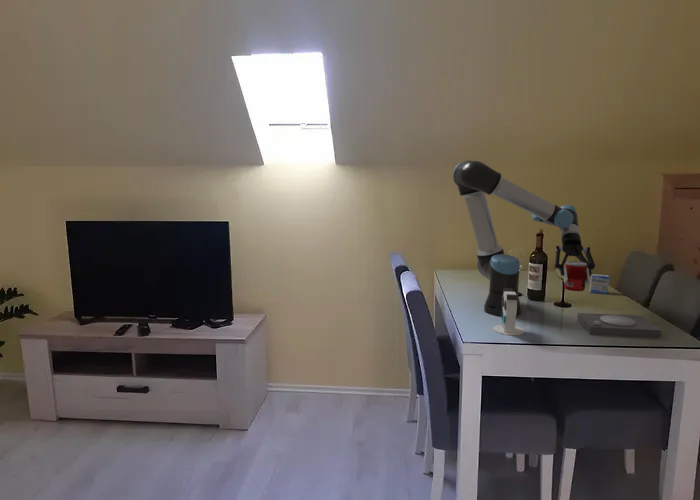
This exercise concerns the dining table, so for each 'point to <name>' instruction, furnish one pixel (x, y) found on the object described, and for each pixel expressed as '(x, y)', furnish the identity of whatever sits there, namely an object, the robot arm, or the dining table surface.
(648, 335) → the mount
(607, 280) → the medicine box
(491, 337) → the dining table surface
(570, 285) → the canned food
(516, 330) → the white upright stand
